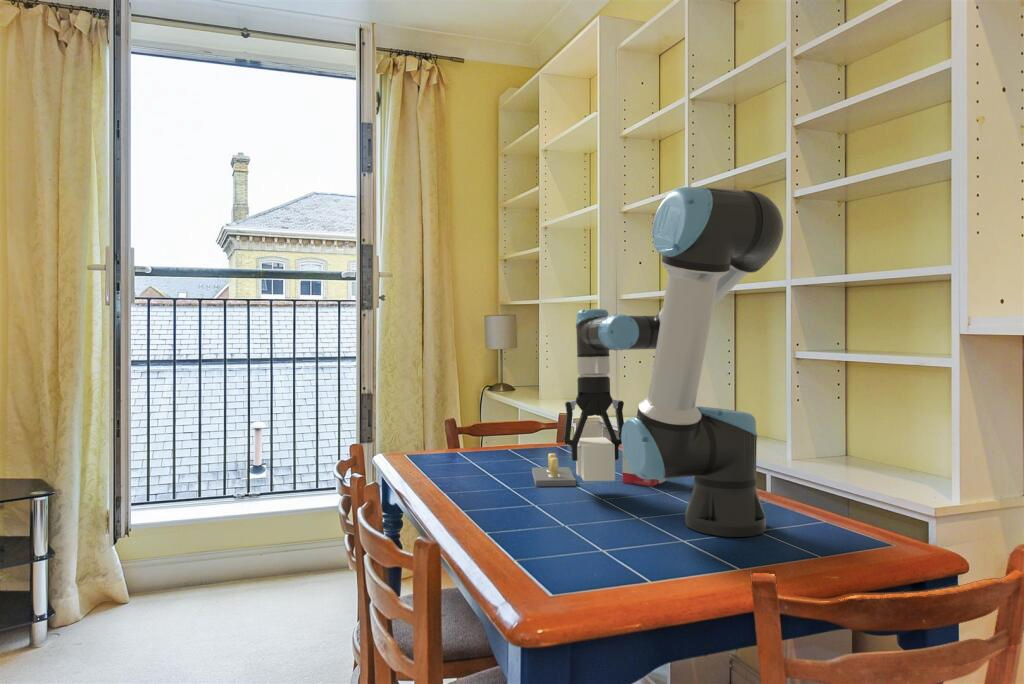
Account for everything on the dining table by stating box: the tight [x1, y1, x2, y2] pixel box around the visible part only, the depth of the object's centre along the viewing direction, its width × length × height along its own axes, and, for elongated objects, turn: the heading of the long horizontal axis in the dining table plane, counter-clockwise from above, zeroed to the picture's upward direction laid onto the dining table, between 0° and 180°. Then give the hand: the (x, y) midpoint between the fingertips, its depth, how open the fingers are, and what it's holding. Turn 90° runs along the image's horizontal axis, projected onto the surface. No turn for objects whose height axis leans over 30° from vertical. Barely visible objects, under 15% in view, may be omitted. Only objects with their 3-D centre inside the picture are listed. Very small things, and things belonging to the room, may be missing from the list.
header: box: [531, 453, 577, 488], centre depth 177 cm, size 16×10×6 cm, turn 2°
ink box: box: [621, 451, 667, 487], centre depth 173 cm, size 9×9×12 cm
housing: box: [577, 436, 616, 482], centre depth 158 cm, size 13×7×8 cm, turn 2°
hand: (595, 474), depth 158 cm, fingers closed on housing, 7 cm apart
